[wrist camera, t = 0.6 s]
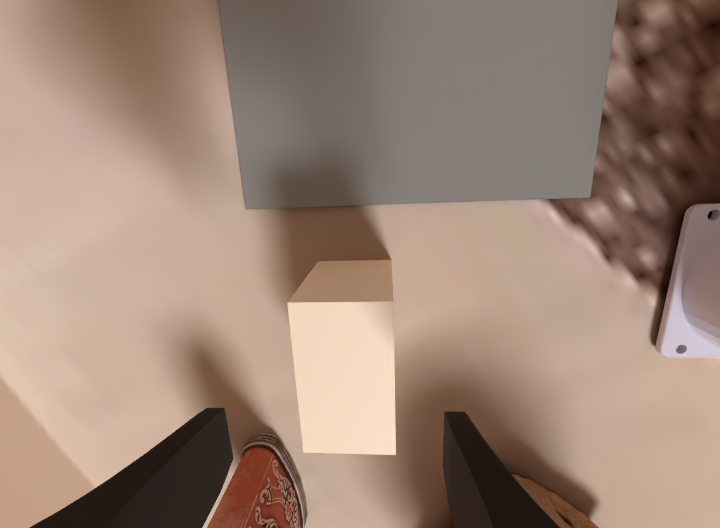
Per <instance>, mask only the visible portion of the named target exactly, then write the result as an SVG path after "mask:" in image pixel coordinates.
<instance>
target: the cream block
mask: <svg viewBox="0 0 720 528" xmlns="http://www.w3.org/2000/svg"><path fill="white" fill-rule="evenodd" d="M287 304H288V313H289V323H290V332H291V341H292V350H293V360H294V369H295V378H296V387H297V397H298V406H299V415H300V424H301V434H302V443H303V452H308V453H343V454H379V455H396V430H395V369H394V308H393V284H392V265H391V260H354V261H318V262H317V263H316V265H315V266H314V267H313V269H312V270H311V271H310V273H309V274H308V275H307V277H306V278H305V280H304V281H303V282H302V284H301V285H300V286H299V288H298V289H297V290H296V292H295V293H294V294H293V296H292V297H291V298H290V300H289V301H288V302H287Z"/></svg>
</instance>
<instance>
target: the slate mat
mask: <svg viewBox="0 0 720 528" xmlns="http://www.w3.org/2000/svg"><path fill="white" fill-rule="evenodd" d="M617 3H618V0H218V6H219V13H220V21H221V28H222V36H223V43H224V51H225V58H226V66H227V73H228V81H229V88H230V96H231V103H232V111H233V118H234V126H235V133H236V141H237V148H238V156H239V163H240V171H241V178H242V186H243V193H244V201H245V208H246V209H270V208H299V207H328V206H356V205H385V204H414V203H442V202H471V201H500V200H529V199H557V198H586V197H590V194H591V187H592V180H593V173H594V166H595V159H596V152H597V144H598V137H599V130H600V123H601V116H602V109H603V102H604V95H605V88H606V81H607V74H608V66H609V59H610V52H611V45H612V38H613V31H614V24H615V17H616V10H617Z"/></svg>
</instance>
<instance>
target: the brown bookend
mask: <svg viewBox="0 0 720 528" xmlns="http://www.w3.org/2000/svg"><path fill="white" fill-rule="evenodd" d="M512 475H513V474H512ZM513 476H514V478H515V479H516V480H517V481H518V482H519V483H520V485H521V486H522V487H523V488H524V489H525V490H526V491H527V493H528V494H529V495H530V496H531V497H532V498H533V499H534V500H535V502H536V503H537V504H538V505H539V506H540V507H541V508H542V509H543V510H544V511H545V512H546V513H547V514H548V515H549V516H550V518H551V519H552V520H553V521H554V522H555V523H556V524H557V525H558V526H559V527H560V528H599V527H597V526H596V525H595V524H594V523H593V522H592V521H591V520H590V519H589V518H588V517H587V516H586V515H585V514H584V513H583V512H581V511H578V510H576V509H575V508H574V507H573V506H572V505H571V504H570V503H568V502H567V501H565V500H563V499H562V498H561V497H560V496H559V495H557V494H555V493H554V492H551V491H549V490H546V489H544V488H543V486H541V485H539V484H537V483H535V482H534V481H532V480H530V479H526V478H522V477H520V476H519V475H513Z"/></svg>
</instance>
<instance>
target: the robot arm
mask: <svg viewBox="0 0 720 528" xmlns="http://www.w3.org/2000/svg"><path fill="white" fill-rule="evenodd" d="M710 211H712V215H711V217H710V218H708V214H709V212H710ZM679 345H680V347H679V348H678V349H676V348H677V347H678V346H679ZM656 350H657V352H658V353H660V354H661V355H663V356H664V357H720V203H712V204H695V205H692V206H691V207H689V208H688V209H687V210H686V212H685V215H684V219H683V223H682V228H681V233H680V237H679V242H678V246H677V251H676V255H675V260H674V265H673V269H672V274H671V278H670V283H669V287H668V292H667V297H666V301H665V306H664V310H663V315H662V319H661V324H660V329H659V333H658V338H657V342H656ZM232 460H233V454H232V448H231V443H230V437H229V432H228V426H227V420H226V415H225V409H224V408H206V409H205V410H203V411H202V412H200V413H199V414H198V415H196V416H195V417H193V418H192V419H191V420H189V421H188V422H187V423H185V424H184V425H183V426H181V427H180V428H179V429H178V430H176V431H175V432H174V433H172V434H171V435H170V436H168V437H167V438H166V439H164V440H163V441H162V442H160V443H159V444H158V445H156V446H155V447H154V448H152V449H151V450H150V451H148V452H147V453H146V454H144V455H143V456H141V457H140V458H139V459H137V460H136V461H134V462H133V463H131V464H130V465H129V466H127V467H126V468H124V469H123V470H121V471H120V472H119V473H117V474H116V475H114V476H113V477H112V478H110V479H109V480H107V481H106V482H104V483H103V484H101V485H100V486H98V487H97V488H95V489H94V490H92V491H90V492H89V493H87V494H86V495H84V496H83V497H81V498H79V499H78V500H76V501H75V502H73V503H71V504H70V505H68V506H67V507H65V508H63V509H62V510H60V511H58V512H56V513H55V514H53V515H52V516H50V517H48V518H46V519H44V520H42V521H41V522H39V523H37V524H35V525H34V526H32V527H30V528H202V527H203V525H204V523H205V521H206V519H207V517H208V515H209V513H210V512H211V510H212V508H213V506H214V504H215V502H216V500H217V498H218V496H219V494H220V492H221V489H222V487H223V484H224V482H225V479H226V477H227V474H228V471H229V468H230V466H231V463H232ZM443 468H444V475H445V482H446V489H447V495H448V501H449V505H450V509H451V513H452V518H453V522H454V526H455V528H560V527H559V526H558V525H557V524H556V523H555V522H554V521H553V520H552V519H551V518H550V516H549V515H548V514H547V513H546V512H545V511H544V510H543V509H542V508H541V507H540V506H539V505H538V504H537V503H536V502H535V500H534V499H533V498H532V497H531V496H530V495H529V494H528V493H527V491H526V490H525V489H524V488H523V487H522V486H521V485H520V483H519V482H518V481H517V480H516V479H515V478H514V476H513V475H512V474H511V473H510V472H509V470H508V469H507V468H506V467H505V465H504V464H503V463H502V462H501V460H500V459H499V458H498V457H497V455H496V454H495V453H494V451H493V450H492V449H491V448H490V446H489V445H488V444H487V442H486V441H485V439H484V438H483V437H482V435H481V434H480V433H479V431H478V430H477V428H476V427H475V425H474V424H473V422H472V421H471V420H470V418H469V416H468V415H467V414H466V413H465V412H444V444H443Z"/></svg>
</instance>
